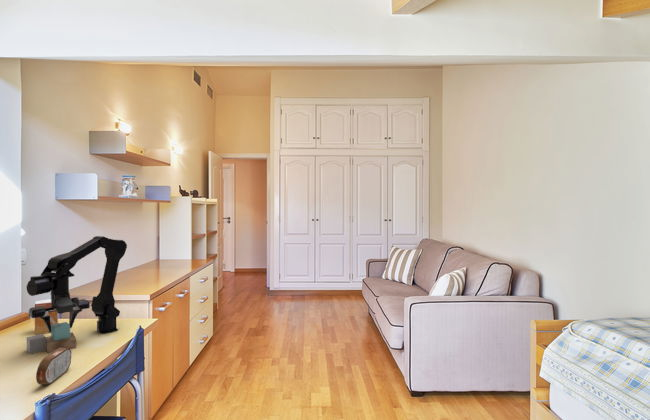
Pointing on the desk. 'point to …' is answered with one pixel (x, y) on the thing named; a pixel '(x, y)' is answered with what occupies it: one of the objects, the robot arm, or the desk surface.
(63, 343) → the walnut block
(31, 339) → the grey cube
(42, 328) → the small box
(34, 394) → the desk surface
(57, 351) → the tin
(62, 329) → the teal cube
